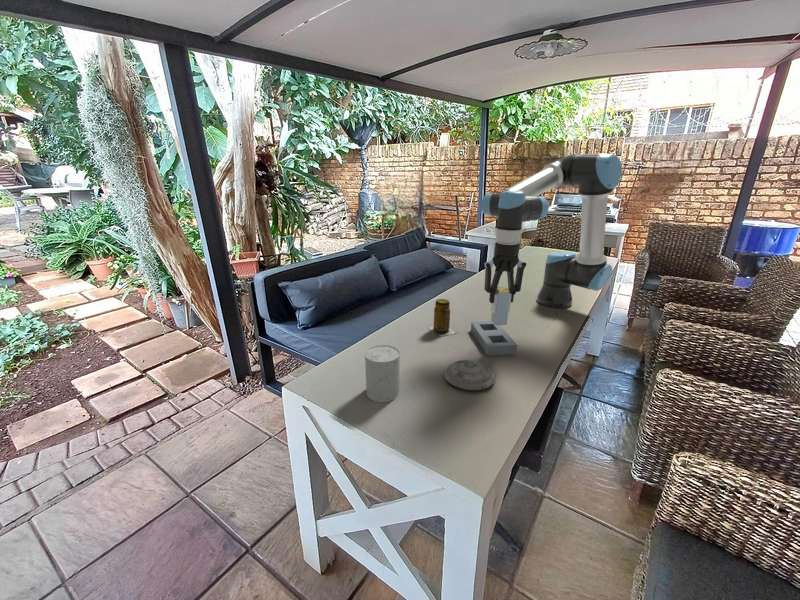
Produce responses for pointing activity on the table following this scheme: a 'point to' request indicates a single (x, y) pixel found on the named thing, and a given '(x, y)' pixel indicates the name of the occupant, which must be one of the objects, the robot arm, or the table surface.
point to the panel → (493, 338)
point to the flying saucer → (469, 375)
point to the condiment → (442, 318)
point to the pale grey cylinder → (382, 373)
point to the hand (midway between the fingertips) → (500, 311)
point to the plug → (501, 306)
